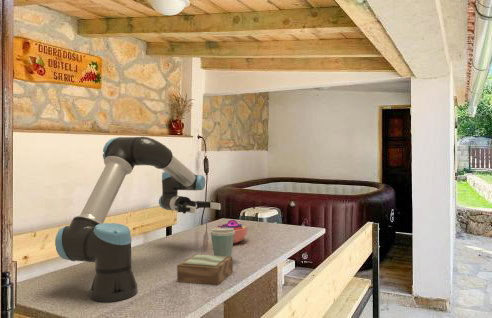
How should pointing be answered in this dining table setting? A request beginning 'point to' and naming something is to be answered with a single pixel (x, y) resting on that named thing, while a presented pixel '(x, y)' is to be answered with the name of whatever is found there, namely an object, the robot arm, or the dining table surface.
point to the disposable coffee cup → (222, 241)
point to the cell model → (236, 230)
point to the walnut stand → (205, 269)
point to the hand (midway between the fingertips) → (208, 208)
